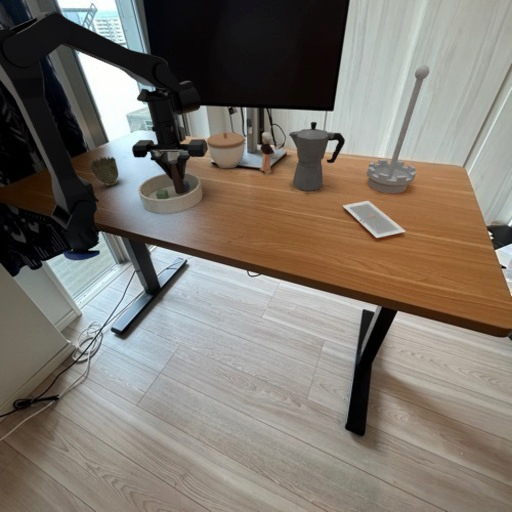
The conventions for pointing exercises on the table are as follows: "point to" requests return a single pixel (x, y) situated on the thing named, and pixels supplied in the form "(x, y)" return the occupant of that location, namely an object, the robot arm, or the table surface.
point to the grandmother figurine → (266, 152)
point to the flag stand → (397, 152)
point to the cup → (105, 170)
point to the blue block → (186, 185)
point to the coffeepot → (313, 155)
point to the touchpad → (373, 219)
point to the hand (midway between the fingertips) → (177, 178)
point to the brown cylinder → (176, 177)
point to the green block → (162, 194)
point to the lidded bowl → (226, 149)
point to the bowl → (175, 200)
